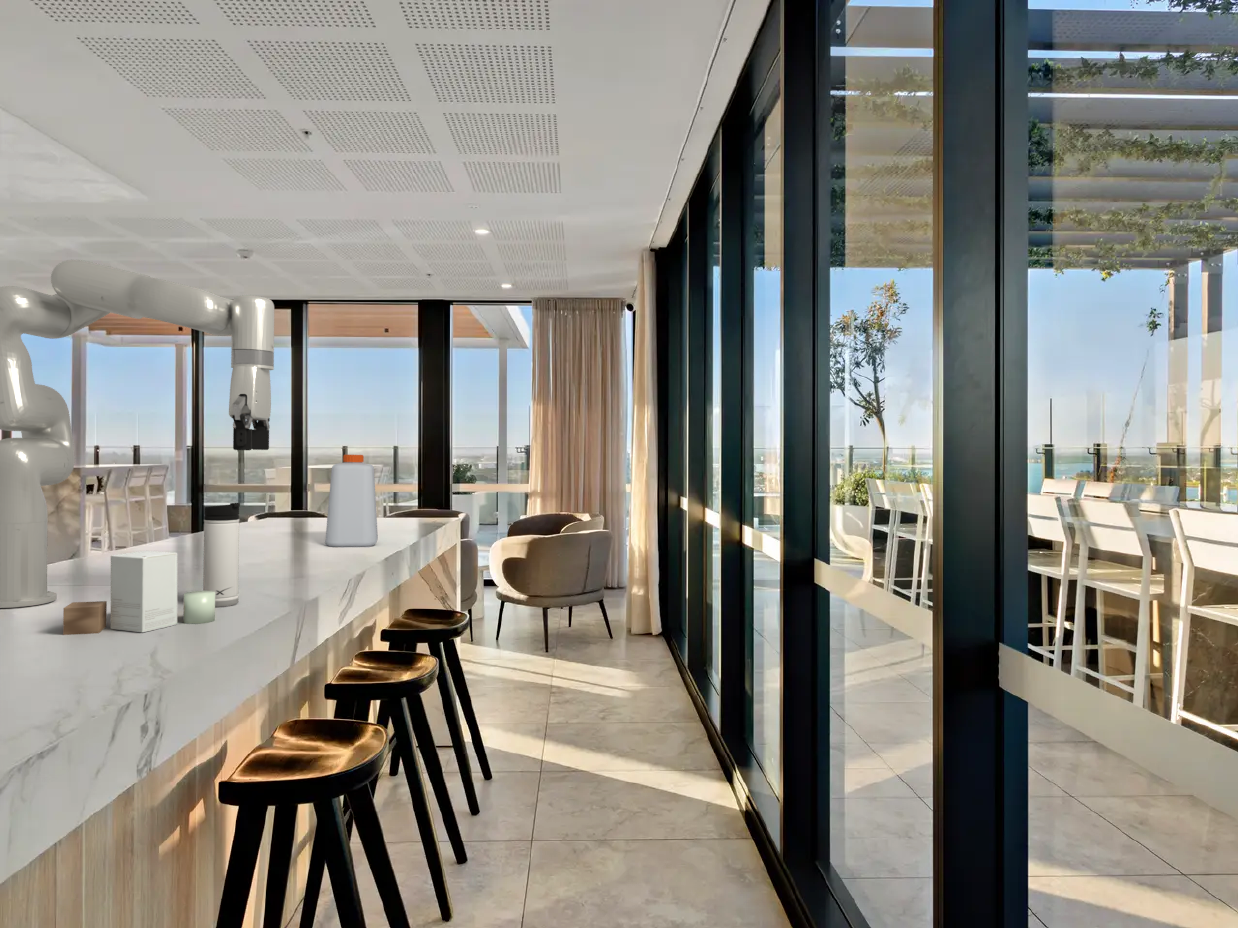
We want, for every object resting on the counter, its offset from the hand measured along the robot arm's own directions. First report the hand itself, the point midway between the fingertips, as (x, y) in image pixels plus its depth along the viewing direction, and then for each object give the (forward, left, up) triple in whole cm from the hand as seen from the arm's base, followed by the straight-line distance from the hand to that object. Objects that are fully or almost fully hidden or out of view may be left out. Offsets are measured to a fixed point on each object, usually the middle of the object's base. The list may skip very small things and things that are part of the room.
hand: (251, 449), depth 159 cm
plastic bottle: (-4, +98, -31) cm, 103 cm away
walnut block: (-19, -21, -31) cm, 42 cm away
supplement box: (-11, -18, -31) cm, 37 cm away
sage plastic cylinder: (-4, -13, -31) cm, 33 cm away
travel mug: (-6, +2, -31) cm, 31 cm away
